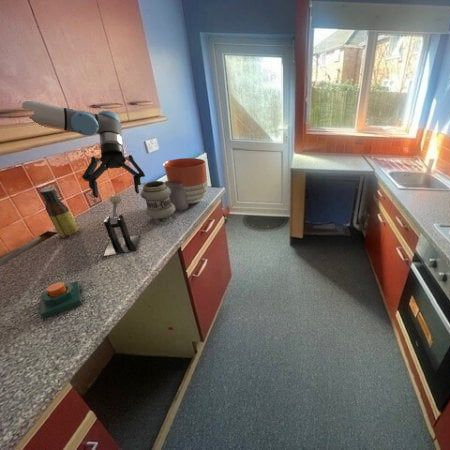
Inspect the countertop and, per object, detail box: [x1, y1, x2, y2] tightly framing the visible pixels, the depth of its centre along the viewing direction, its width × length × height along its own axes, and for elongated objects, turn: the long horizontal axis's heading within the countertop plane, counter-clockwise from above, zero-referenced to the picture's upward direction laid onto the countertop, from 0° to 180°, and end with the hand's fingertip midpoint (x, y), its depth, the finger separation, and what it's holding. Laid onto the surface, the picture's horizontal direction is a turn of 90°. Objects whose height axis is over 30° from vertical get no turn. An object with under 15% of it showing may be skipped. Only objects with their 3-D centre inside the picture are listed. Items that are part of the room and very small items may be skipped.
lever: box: [109, 194, 122, 229], centre depth 93 cm, size 14×4×4 cm, turn 24°
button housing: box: [39, 280, 83, 320], centre depth 70 cm, size 10×8×4 cm
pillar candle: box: [163, 180, 190, 212], centre depth 125 cm, size 10×10×15 cm
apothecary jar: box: [140, 180, 176, 223], centre depth 111 cm, size 12×12×18 cm
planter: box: [162, 157, 208, 205], centre depth 130 cm, size 20×20×21 cm
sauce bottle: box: [39, 187, 80, 239], centre depth 96 cm, size 6×6×20 cm
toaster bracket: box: [103, 214, 141, 257], centre depth 92 cm, size 12×10×13 cm
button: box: [45, 281, 67, 297], centre depth 68 cm, size 4×4×2 cm
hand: (116, 194), depth 97 cm, fingers open, 13 cm apart
